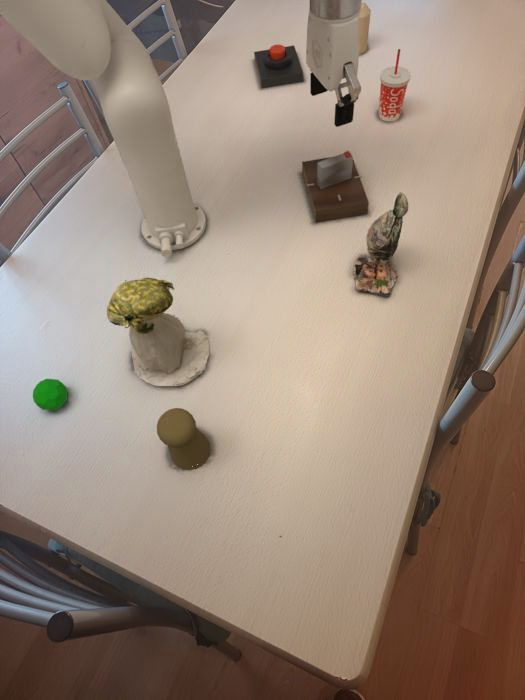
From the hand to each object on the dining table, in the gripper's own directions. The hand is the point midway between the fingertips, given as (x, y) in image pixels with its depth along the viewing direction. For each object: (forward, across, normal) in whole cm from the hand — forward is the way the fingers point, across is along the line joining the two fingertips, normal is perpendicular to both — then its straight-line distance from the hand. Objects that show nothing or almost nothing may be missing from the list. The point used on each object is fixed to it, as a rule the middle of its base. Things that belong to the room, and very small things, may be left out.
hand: (331, 107), depth 87 cm
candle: (+16, -39, +26) cm, 50 cm away
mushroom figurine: (+16, +26, -41) cm, 51 cm away
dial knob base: (+16, +4, -1) cm, 16 cm away
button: (+12, -40, +6) cm, 42 cm away
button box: (+16, -40, +6) cm, 43 cm away
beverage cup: (+16, -13, +21) cm, 29 cm away
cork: (+16, +43, -43) cm, 63 cm away
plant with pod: (+16, +25, -2) cm, 30 cm away
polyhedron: (+16, +27, -60) cm, 68 cm away
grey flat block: (+13, +4, -1) cm, 14 cm away
